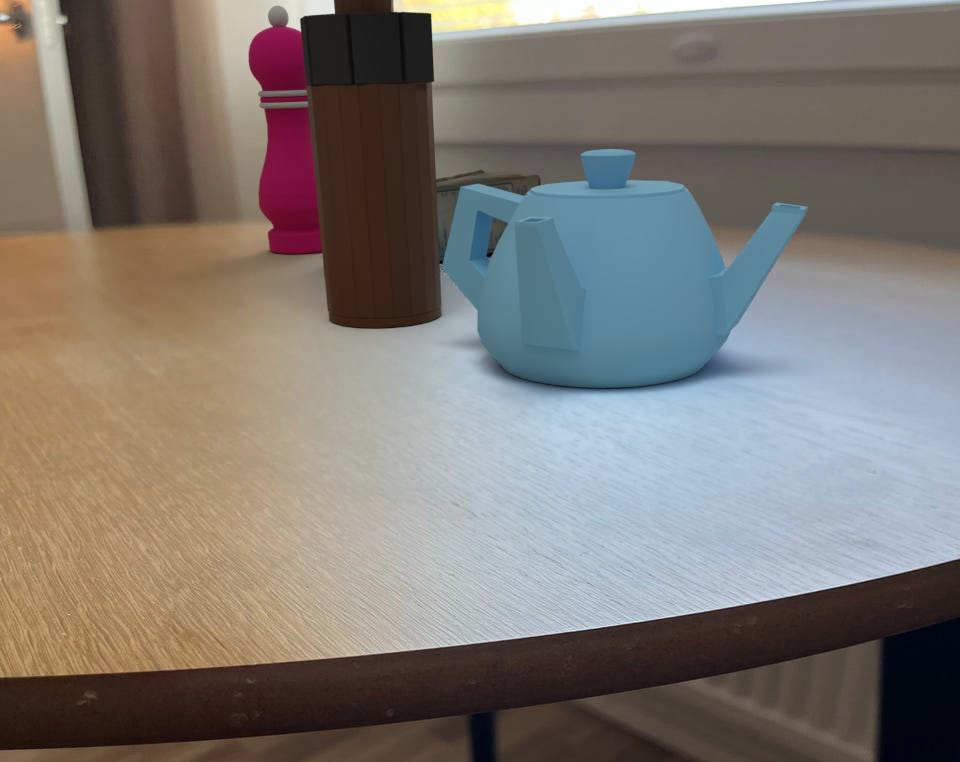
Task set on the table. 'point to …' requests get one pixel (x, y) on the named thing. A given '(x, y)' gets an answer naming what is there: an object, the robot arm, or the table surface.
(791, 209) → the teapot
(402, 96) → the bottle
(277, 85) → the pepper mill
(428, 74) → the black octagonal ring
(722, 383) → the table surface
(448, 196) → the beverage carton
